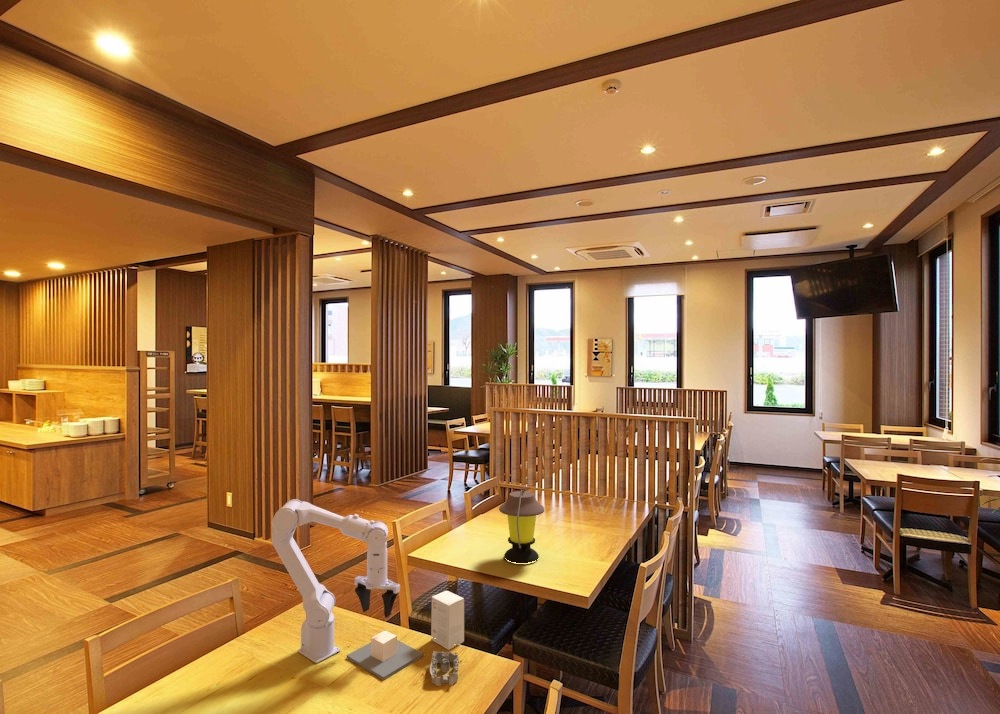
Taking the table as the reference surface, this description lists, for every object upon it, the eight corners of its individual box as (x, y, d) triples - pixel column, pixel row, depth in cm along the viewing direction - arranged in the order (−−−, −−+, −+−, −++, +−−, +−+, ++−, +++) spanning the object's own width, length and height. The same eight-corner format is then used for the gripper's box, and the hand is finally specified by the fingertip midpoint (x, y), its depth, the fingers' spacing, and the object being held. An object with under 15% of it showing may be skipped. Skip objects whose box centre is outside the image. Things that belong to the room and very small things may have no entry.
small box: (464, 642, 152) (464, 598, 152) (448, 650, 147) (448, 605, 148) (446, 632, 158) (446, 589, 158) (430, 640, 153) (430, 596, 153)
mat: (346, 658, 143) (346, 655, 143) (386, 636, 154) (386, 634, 154) (383, 680, 134) (383, 677, 134) (423, 656, 145) (423, 653, 145)
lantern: (520, 544, 233) (520, 478, 233) (556, 554, 221) (556, 485, 221) (485, 561, 213) (486, 489, 213) (523, 573, 201) (524, 497, 201)
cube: (371, 655, 143) (371, 637, 143) (384, 647, 147) (385, 630, 147) (383, 662, 140) (383, 643, 140) (396, 653, 144) (397, 635, 144)
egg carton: (457, 687, 131) (457, 671, 131) (428, 687, 131) (428, 671, 131) (460, 662, 142) (460, 647, 142) (432, 662, 142) (432, 648, 142)
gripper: (347, 567, 147) (347, 614, 147) (390, 575, 142) (389, 624, 141) (363, 558, 154) (363, 603, 154) (404, 566, 148) (404, 613, 148)
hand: (376, 613), depth 148 cm, fingers open, 7 cm apart
